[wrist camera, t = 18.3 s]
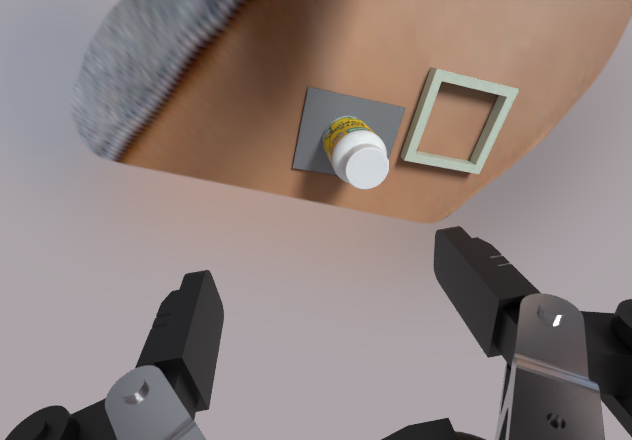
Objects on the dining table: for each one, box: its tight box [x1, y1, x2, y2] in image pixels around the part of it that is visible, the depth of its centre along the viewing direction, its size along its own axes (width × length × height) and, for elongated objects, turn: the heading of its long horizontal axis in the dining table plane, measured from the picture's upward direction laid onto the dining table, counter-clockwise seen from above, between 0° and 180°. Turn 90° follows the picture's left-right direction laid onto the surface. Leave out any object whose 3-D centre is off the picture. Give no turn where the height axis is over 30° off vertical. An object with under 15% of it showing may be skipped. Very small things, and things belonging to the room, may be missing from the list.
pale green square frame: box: [400, 68, 519, 174], centre depth 38 cm, size 10×10×2 cm
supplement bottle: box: [323, 116, 389, 189], centre depth 34 cm, size 5×5×10 cm
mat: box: [293, 87, 405, 175], centre depth 38 cm, size 11×9×1 cm
